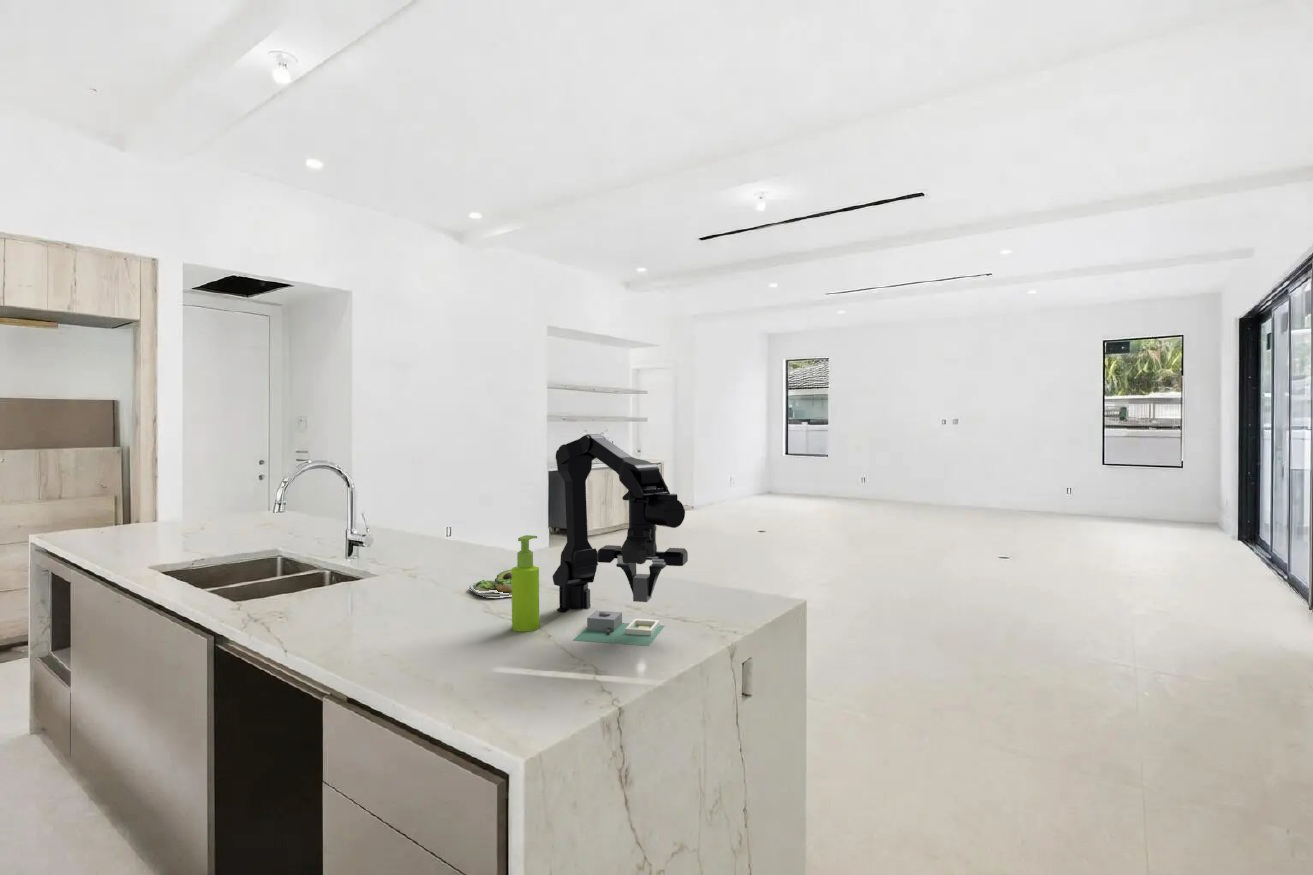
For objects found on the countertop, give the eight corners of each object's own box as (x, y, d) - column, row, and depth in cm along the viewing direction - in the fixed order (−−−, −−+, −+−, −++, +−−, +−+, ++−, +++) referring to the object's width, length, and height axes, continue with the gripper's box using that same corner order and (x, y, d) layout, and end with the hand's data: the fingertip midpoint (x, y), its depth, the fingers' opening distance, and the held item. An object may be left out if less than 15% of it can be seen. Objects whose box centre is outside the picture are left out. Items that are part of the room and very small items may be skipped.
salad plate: (551, 596, 181) (551, 579, 181) (482, 605, 173) (482, 587, 173) (528, 582, 198) (528, 565, 198) (465, 589, 190) (465, 572, 190)
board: (572, 644, 141) (572, 625, 141) (595, 624, 155) (595, 607, 155) (648, 649, 137) (648, 631, 137) (665, 628, 151) (665, 611, 151)
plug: (633, 601, 147) (633, 577, 147) (639, 595, 152) (639, 572, 152) (646, 602, 146) (646, 578, 146) (652, 596, 151) (652, 573, 151)
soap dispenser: (546, 623, 156) (545, 534, 155) (530, 632, 149) (530, 539, 149) (523, 621, 158) (522, 533, 157) (506, 630, 151) (506, 538, 151)
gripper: (588, 526, 143) (588, 602, 143) (677, 529, 138) (677, 608, 138) (604, 519, 153) (605, 589, 154) (688, 521, 149) (688, 594, 149)
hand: (642, 595), depth 149 cm, fingers closed on plug, 3 cm apart
